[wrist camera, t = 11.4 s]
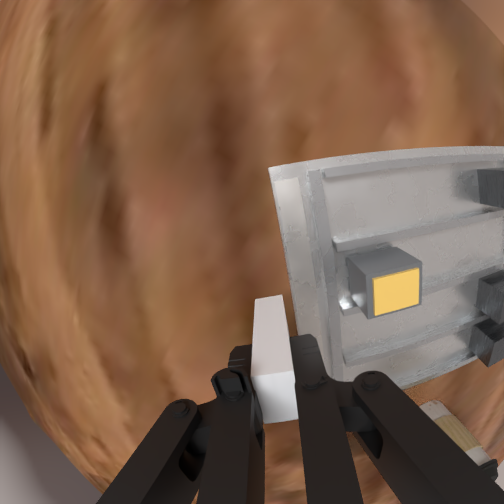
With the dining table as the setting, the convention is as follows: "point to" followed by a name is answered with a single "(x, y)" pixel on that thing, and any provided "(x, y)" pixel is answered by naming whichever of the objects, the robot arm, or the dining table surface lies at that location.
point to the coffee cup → (460, 436)
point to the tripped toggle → (385, 281)
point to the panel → (407, 239)
